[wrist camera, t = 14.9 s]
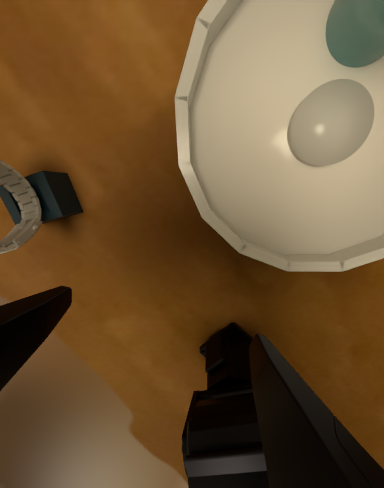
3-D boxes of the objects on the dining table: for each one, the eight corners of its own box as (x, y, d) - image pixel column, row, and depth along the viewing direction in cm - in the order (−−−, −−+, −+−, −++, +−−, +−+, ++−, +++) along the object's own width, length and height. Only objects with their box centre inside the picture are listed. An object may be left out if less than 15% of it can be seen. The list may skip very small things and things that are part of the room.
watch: (59, 154, 20) (-114, 116, 9) (89, 226, 22) (-23, 263, 11) (16, 169, 21) (-185, 150, 10) (49, 237, 23) (-89, 280, 12)
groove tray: (547, 116, 15) (626, 99, 12) (294, 300, 22) (306, 317, 19) (360, -182, 12) (408, -301, 9) (131, 144, 19) (116, 137, 16)
